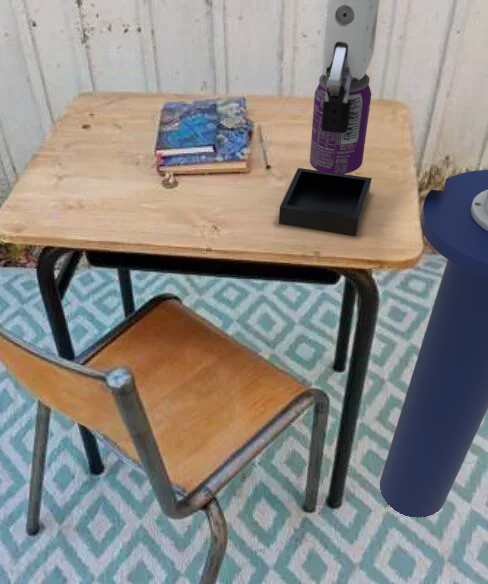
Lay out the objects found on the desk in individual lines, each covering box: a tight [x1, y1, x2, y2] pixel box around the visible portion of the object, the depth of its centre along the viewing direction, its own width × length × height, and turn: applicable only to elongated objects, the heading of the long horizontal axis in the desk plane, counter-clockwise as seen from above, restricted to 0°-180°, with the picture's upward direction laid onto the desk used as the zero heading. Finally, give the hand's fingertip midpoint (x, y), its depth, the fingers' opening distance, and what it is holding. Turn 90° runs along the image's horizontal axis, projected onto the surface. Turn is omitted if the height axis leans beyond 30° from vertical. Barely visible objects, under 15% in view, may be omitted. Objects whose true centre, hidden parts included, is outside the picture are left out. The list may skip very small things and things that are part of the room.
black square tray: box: [278, 167, 373, 237], centre depth 94 cm, size 11×11×3 cm
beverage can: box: [309, 69, 372, 175], centre depth 85 cm, size 7×7×12 cm
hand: (340, 115), depth 84 cm, fingers closed on beverage can, 7 cm apart
